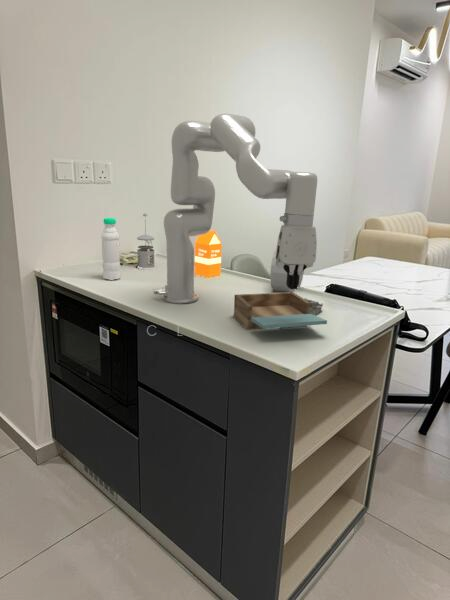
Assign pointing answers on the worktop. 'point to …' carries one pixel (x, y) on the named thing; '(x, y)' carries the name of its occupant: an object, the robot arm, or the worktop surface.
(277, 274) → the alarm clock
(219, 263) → the orange juice
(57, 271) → the worktop surface
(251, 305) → the wooden open box
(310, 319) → the light blue flat panel
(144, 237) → the french press
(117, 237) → the water bottle
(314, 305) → the egg carton
